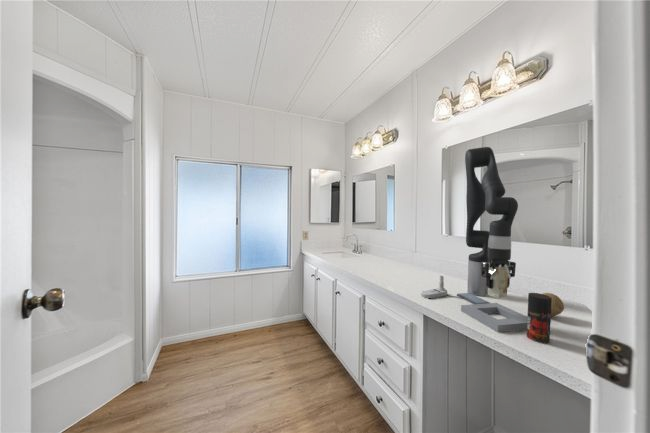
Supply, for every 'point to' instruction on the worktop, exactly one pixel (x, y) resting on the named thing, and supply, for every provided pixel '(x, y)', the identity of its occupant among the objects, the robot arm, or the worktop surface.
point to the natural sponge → (555, 304)
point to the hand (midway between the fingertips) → (497, 287)
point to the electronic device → (435, 291)
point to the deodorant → (539, 317)
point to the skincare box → (499, 283)
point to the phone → (472, 298)
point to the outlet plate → (500, 325)
